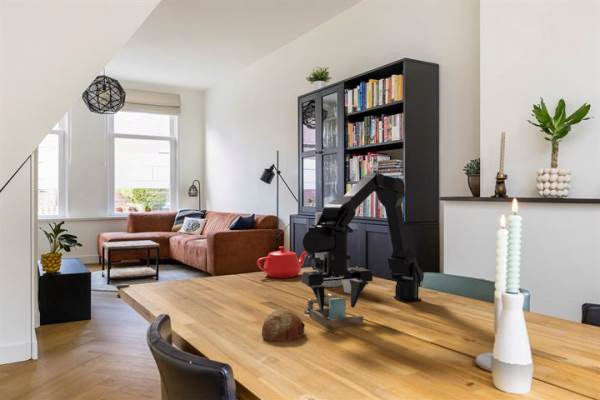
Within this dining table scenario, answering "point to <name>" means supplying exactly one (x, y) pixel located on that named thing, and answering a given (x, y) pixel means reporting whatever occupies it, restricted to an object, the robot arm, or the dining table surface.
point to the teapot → (282, 264)
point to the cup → (347, 284)
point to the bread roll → (282, 326)
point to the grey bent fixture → (311, 301)
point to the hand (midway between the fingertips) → (337, 308)
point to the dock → (333, 323)
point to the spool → (337, 308)
